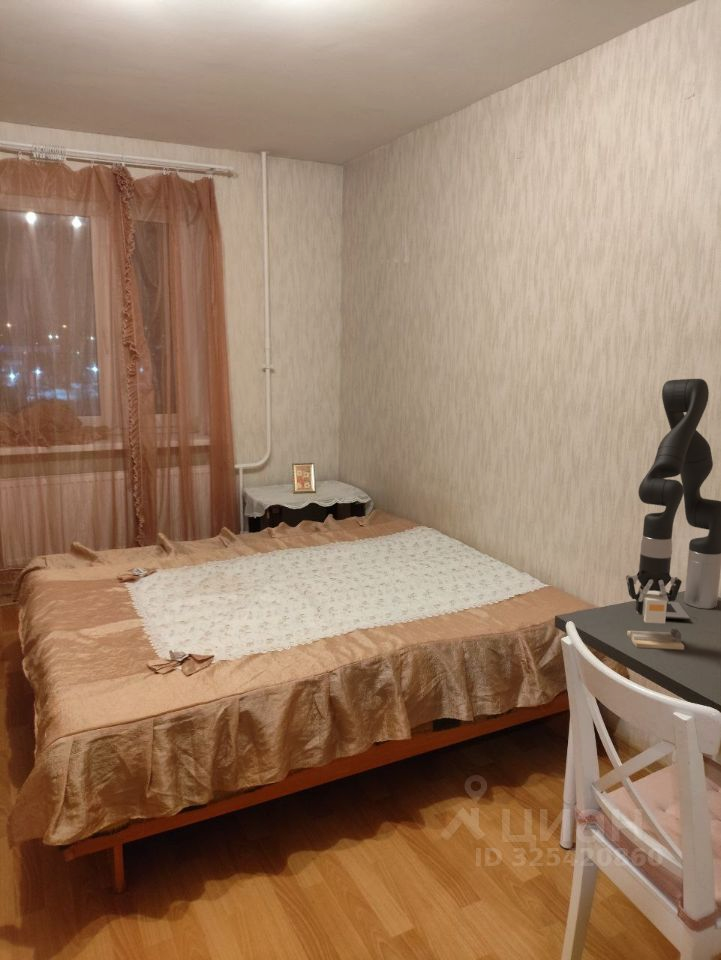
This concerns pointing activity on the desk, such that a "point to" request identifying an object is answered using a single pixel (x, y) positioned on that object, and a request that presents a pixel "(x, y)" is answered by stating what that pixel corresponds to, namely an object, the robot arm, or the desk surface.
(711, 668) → the desk surface
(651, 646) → the rail board
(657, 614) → the white rectangular block
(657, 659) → the desk surface
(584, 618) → the desk surface
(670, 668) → the desk surface
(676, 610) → the electrical outlet
